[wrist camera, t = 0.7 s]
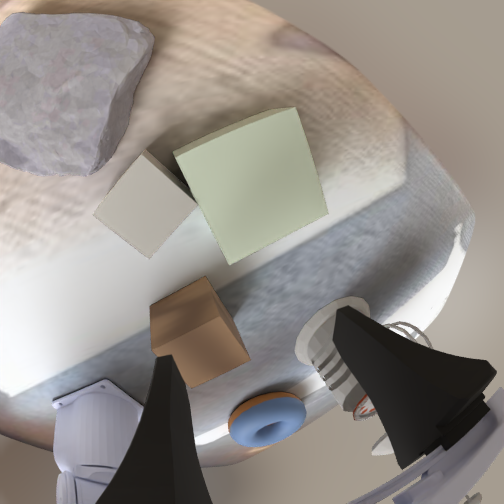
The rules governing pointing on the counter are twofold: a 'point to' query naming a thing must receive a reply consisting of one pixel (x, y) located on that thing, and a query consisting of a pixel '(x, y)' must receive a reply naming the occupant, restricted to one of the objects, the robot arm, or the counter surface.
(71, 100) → the stone block
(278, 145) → the sage block
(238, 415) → the doughnut
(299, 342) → the french press
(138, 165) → the grey cube
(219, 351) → the walnut cube
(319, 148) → the counter surface
